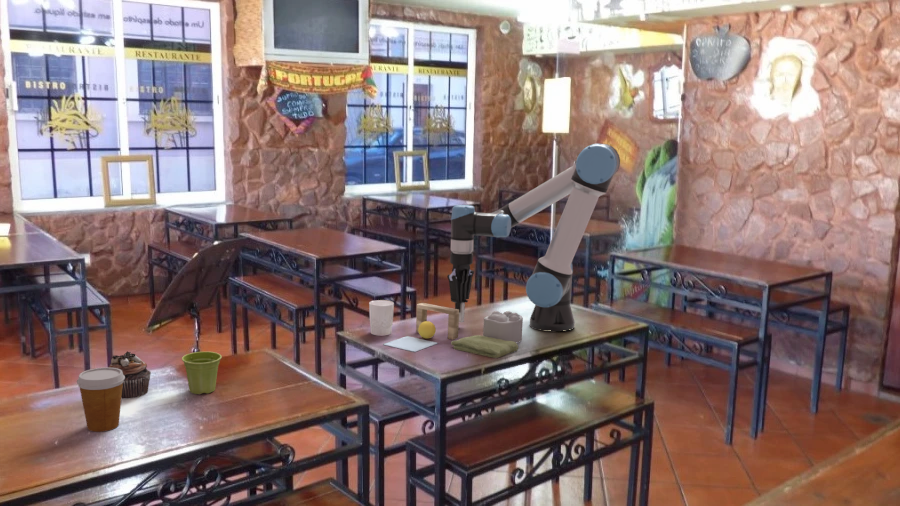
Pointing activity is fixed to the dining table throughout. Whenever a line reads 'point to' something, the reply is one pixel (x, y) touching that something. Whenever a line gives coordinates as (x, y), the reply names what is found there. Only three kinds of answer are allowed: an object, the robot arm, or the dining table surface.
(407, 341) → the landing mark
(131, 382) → the cupcake
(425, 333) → the ball
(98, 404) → the disposable coffee cup
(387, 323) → the white cup
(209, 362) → the plant pot
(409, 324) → the dining table surface
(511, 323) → the grey filled box
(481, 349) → the washcloth
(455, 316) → the bridge
